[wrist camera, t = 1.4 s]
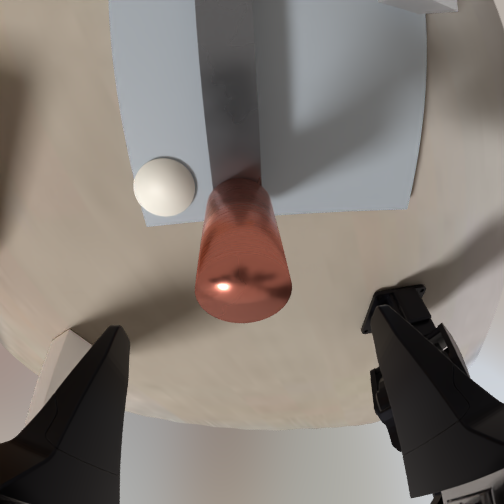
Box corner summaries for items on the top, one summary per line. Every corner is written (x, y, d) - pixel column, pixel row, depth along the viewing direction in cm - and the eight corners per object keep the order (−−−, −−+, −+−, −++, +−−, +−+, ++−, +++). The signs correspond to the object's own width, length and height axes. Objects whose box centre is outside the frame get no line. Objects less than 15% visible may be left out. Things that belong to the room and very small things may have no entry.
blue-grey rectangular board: (400, 201, 20) (434, 239, 16) (148, 218, 19) (129, 264, 15) (400, -77, 5) (439, -95, 1) (117, -82, 5) (87, -108, 1)
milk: (106, 353, 30) (81, 518, 13) (84, 363, 32) (60, 506, 15) (68, 327, 27) (27, 501, 10) (50, 339, 29) (13, 489, 11)
